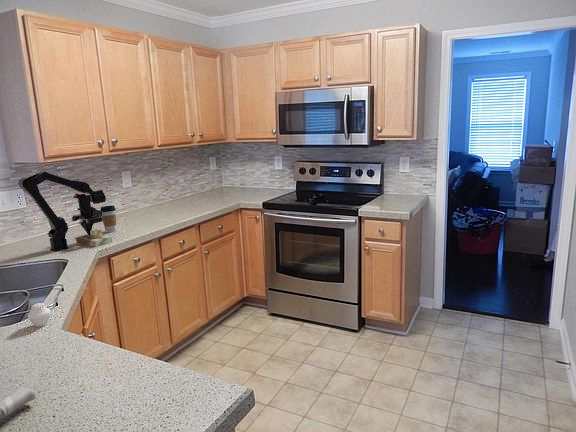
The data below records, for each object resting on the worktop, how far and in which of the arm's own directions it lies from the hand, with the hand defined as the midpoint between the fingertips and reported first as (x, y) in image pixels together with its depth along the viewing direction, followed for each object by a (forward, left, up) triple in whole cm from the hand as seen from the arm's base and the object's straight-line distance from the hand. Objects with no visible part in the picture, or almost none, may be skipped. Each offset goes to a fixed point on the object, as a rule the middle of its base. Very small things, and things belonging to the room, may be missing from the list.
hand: (89, 234), depth 229 cm
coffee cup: (+20, +11, -4) cm, 23 cm away
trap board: (0, -3, -4) cm, 5 cm away
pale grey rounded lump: (-66, -79, -4) cm, 103 cm away
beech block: (0, -6, -1) cm, 6 cm away
